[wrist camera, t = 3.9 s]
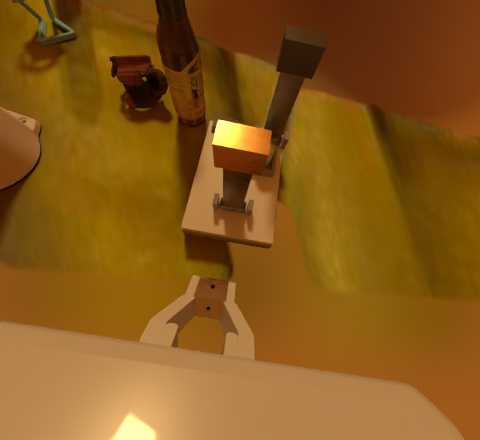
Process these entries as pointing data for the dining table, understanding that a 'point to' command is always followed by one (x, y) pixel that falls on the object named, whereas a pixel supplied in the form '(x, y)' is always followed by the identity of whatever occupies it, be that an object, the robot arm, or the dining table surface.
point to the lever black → (293, 74)
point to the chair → (42, 26)
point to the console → (225, 221)
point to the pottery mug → (139, 79)
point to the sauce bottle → (181, 61)
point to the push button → (270, 154)
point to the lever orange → (239, 160)
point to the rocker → (223, 118)
